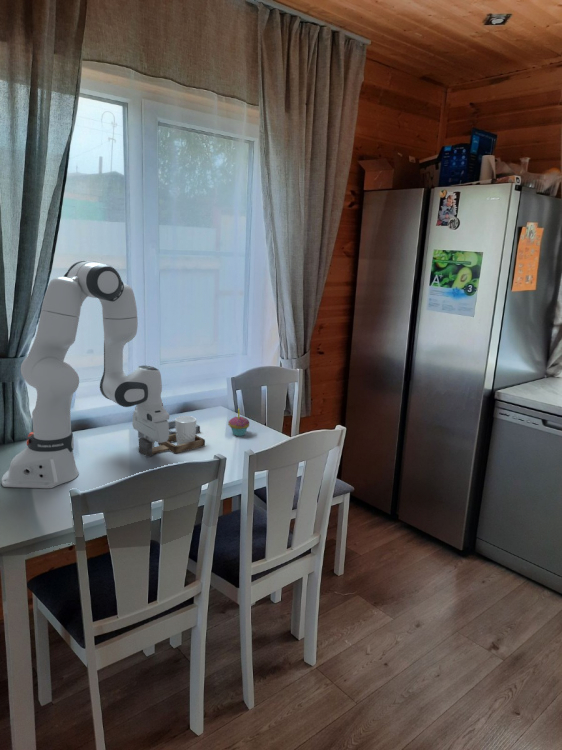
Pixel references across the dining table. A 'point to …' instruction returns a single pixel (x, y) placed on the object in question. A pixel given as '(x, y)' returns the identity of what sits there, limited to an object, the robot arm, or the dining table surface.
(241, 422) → the cupcake
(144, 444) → the walnut frame
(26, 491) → the dining table surface
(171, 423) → the grey frame
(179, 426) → the white cup
